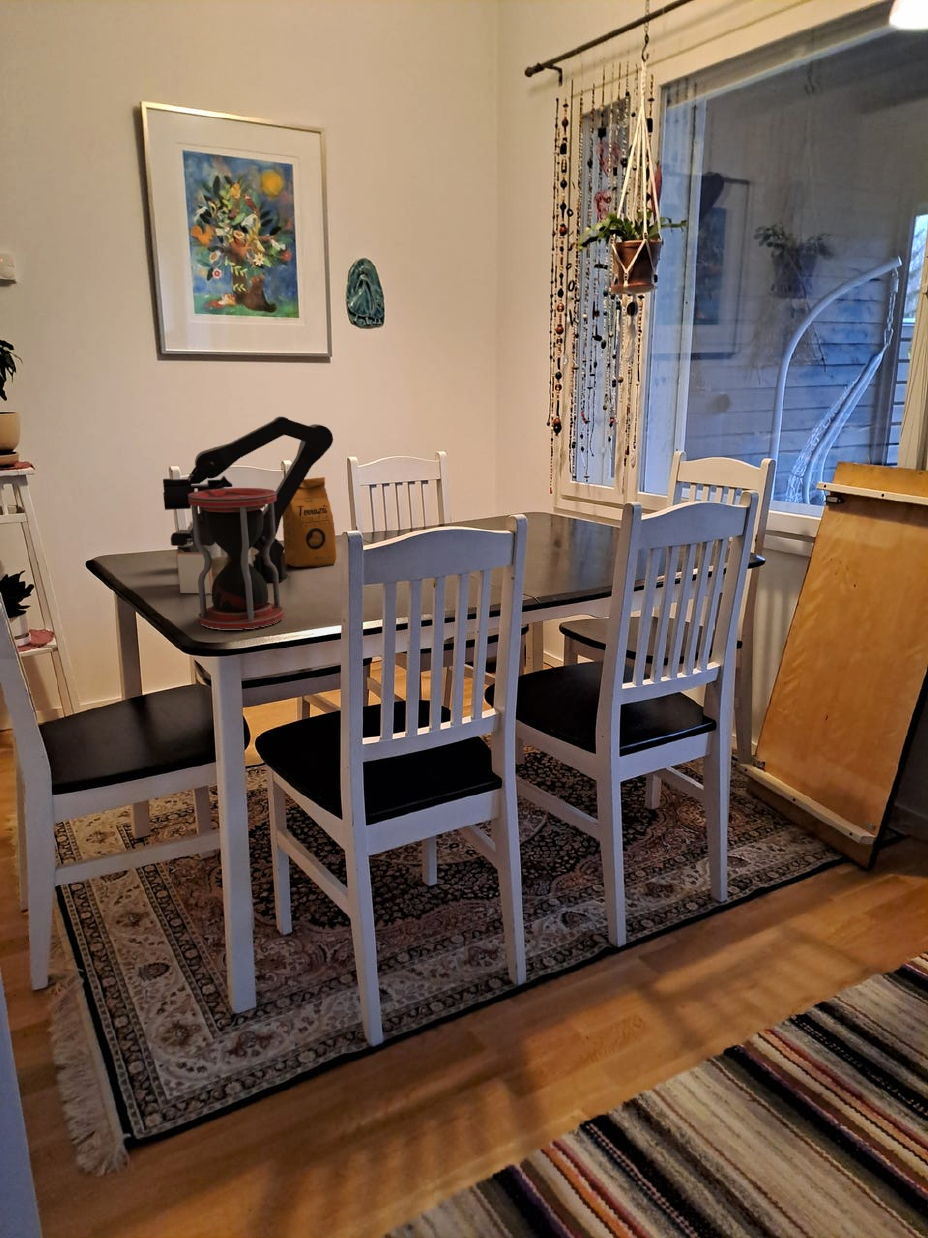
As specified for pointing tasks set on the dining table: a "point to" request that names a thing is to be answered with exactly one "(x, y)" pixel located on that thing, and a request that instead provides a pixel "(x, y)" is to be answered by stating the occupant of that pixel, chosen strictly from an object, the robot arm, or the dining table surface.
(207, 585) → the tile
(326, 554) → the coffee package
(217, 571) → the pusher
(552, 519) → the dining table surface
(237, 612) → the hourglass
